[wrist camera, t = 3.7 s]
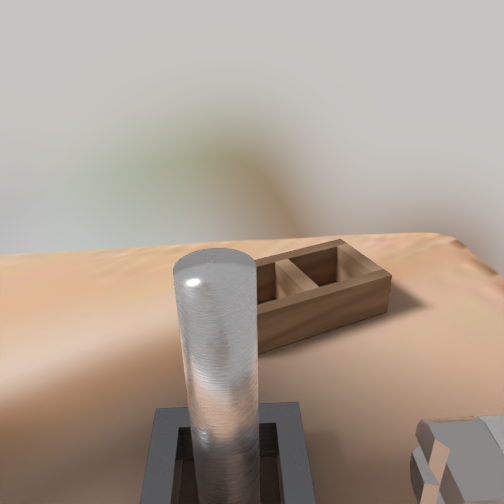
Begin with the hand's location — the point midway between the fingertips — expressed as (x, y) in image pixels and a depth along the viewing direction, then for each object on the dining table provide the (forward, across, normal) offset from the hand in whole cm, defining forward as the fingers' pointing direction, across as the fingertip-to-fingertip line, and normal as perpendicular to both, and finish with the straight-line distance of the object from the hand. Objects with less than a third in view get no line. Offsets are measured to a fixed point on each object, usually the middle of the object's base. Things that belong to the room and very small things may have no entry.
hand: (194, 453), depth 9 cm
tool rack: (+31, +6, -19) cm, 37 cm away
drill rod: (+12, 0, -19) cm, 23 cm away
